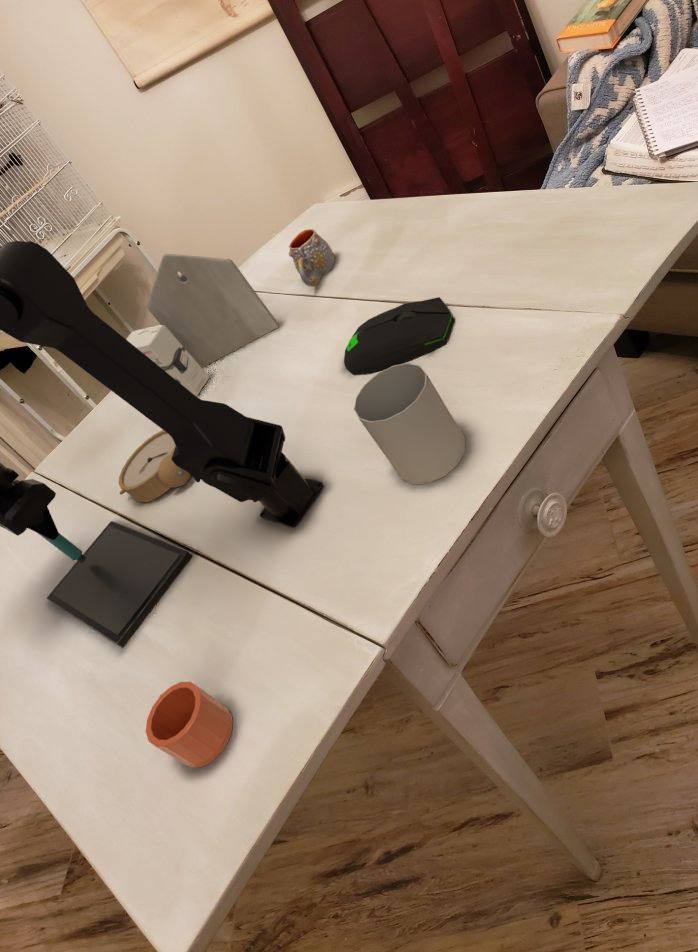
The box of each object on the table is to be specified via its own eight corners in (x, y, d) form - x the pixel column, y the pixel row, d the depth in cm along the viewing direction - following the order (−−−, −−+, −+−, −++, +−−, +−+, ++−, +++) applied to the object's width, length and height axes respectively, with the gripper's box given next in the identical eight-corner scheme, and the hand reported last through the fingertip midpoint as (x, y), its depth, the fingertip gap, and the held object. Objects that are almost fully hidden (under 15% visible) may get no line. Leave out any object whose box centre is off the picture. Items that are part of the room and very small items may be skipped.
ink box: (162, 403, 121) (114, 352, 114) (176, 382, 124) (130, 331, 117) (196, 398, 116) (148, 344, 109) (210, 376, 119) (164, 323, 112)
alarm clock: (135, 441, 110) (199, 405, 102) (160, 460, 112) (224, 427, 104) (105, 498, 102) (171, 464, 94) (133, 517, 105) (199, 486, 97)
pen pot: (244, 718, 68) (211, 694, 65) (204, 778, 65) (169, 757, 62) (208, 695, 72) (176, 672, 69) (169, 751, 69) (135, 730, 66)
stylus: (89, 556, 96) (27, 506, 89) (81, 566, 95) (17, 517, 88) (84, 553, 97) (22, 504, 90) (76, 563, 96) (12, 514, 90)
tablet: (193, 555, 88) (187, 550, 88) (122, 647, 83) (116, 643, 82) (115, 524, 102) (110, 520, 101) (51, 601, 97) (45, 597, 96)
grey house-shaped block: (280, 303, 125) (212, 208, 113) (279, 327, 119) (208, 229, 107) (203, 345, 129) (130, 257, 117) (198, 369, 123) (121, 280, 111)
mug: (307, 265, 130) (287, 235, 126) (340, 251, 128) (320, 220, 124) (295, 304, 122) (274, 272, 118) (330, 289, 119) (309, 257, 115)
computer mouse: (349, 337, 106) (335, 317, 103) (452, 294, 100) (440, 271, 98) (344, 386, 98) (329, 365, 95) (456, 342, 92) (443, 318, 90)
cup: (444, 488, 75) (402, 424, 69) (384, 480, 81) (340, 420, 75) (477, 428, 79) (439, 362, 73) (418, 424, 84) (378, 363, 78)
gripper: (-123, 499, 86) (-19, 570, 96) (-78, 529, 74) (37, 608, 83) (-52, 429, 91) (40, 504, 100) (2, 447, 78) (102, 530, 88)
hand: (52, 535), depth 93 cm, fingers closed on stylus, 1 cm apart
